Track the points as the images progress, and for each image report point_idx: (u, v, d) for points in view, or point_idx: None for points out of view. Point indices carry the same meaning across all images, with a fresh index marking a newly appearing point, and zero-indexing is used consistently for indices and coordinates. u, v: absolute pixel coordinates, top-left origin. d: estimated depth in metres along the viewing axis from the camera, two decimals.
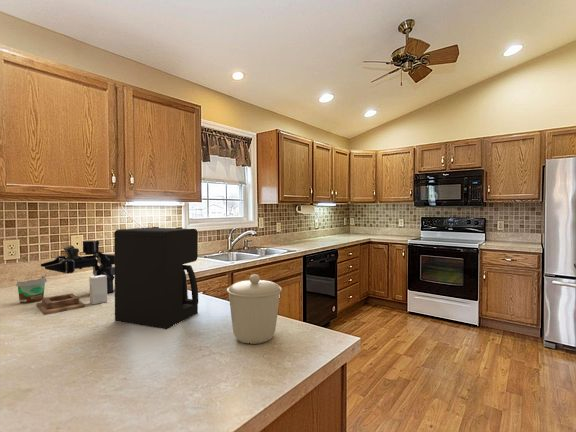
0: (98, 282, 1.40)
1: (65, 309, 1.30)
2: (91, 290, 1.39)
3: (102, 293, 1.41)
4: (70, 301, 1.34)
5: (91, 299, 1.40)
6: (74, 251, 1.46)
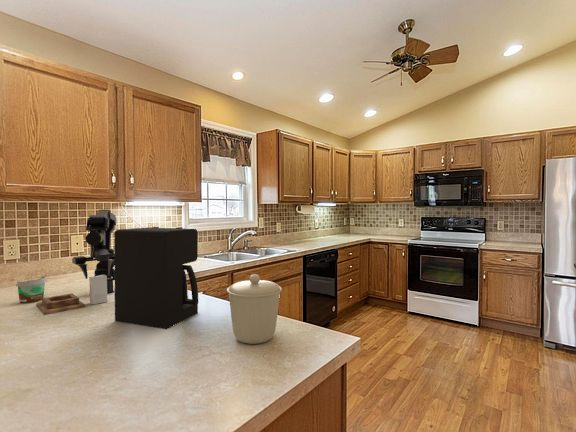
0: (98, 282, 1.40)
1: (65, 309, 1.30)
2: (91, 290, 1.39)
3: (102, 293, 1.41)
4: (70, 301, 1.34)
5: (91, 299, 1.40)
6: None
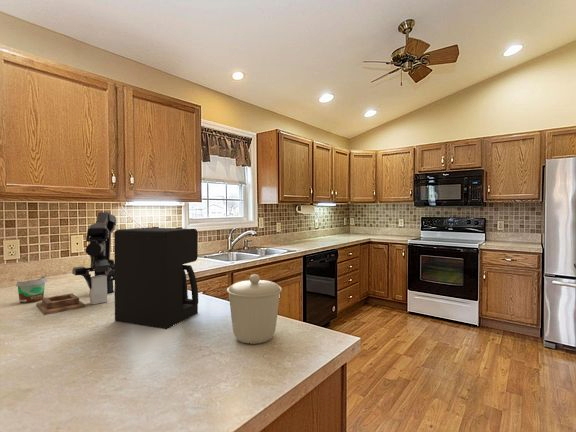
0: (98, 282, 1.40)
1: (65, 309, 1.30)
2: (91, 290, 1.39)
3: (102, 293, 1.41)
4: (70, 301, 1.34)
5: (91, 299, 1.40)
6: None
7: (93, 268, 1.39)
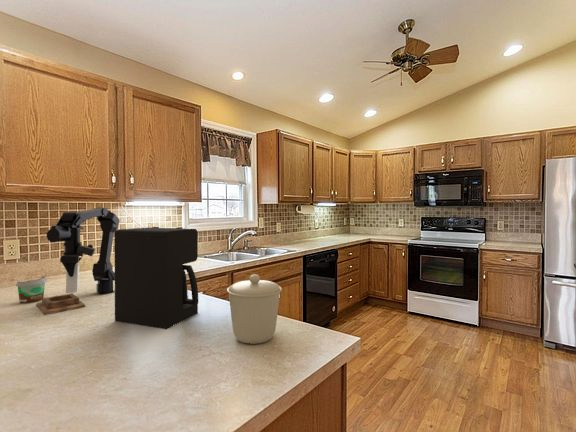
0: (78, 269, 1.38)
1: (65, 309, 1.30)
2: (73, 278, 1.35)
3: (78, 281, 1.40)
4: (70, 301, 1.34)
5: (70, 288, 1.35)
6: None
7: None
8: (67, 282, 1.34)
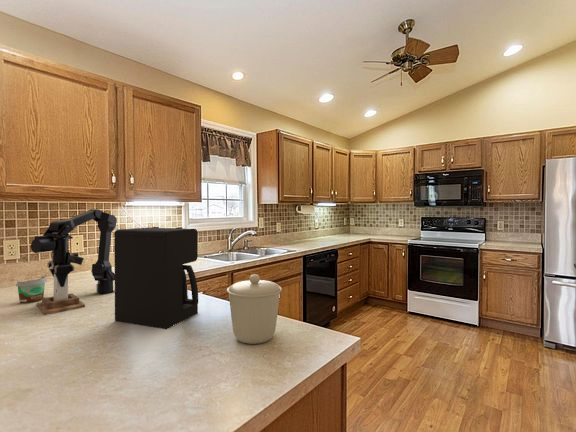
0: None
1: (65, 309, 1.30)
2: (63, 288, 1.35)
3: None
4: (70, 301, 1.34)
5: (60, 298, 1.34)
6: None
7: None
8: (58, 292, 1.33)
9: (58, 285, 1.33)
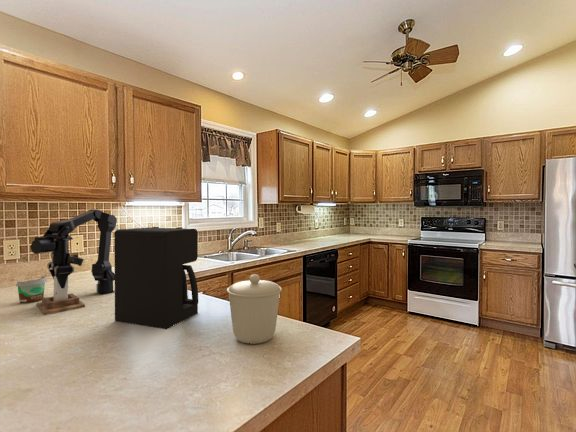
0: None
1: (65, 309, 1.30)
2: (63, 290, 1.35)
3: None
4: (70, 301, 1.34)
5: None
6: None
7: None
8: (57, 295, 1.33)
9: (58, 287, 1.33)
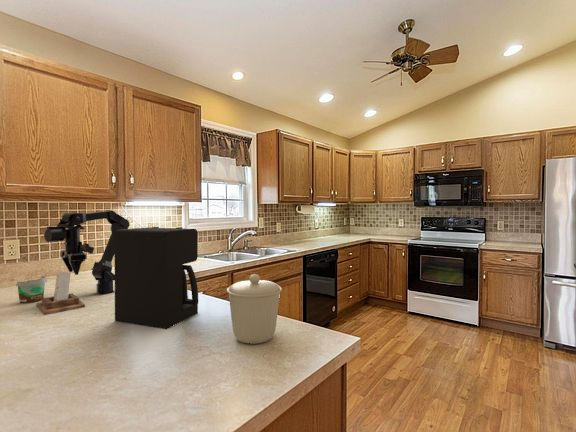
0: None
1: (65, 309, 1.30)
2: (64, 286, 1.37)
3: None
4: (70, 301, 1.34)
5: (61, 295, 1.35)
6: None
7: None
8: (59, 289, 1.35)
9: (60, 282, 1.36)
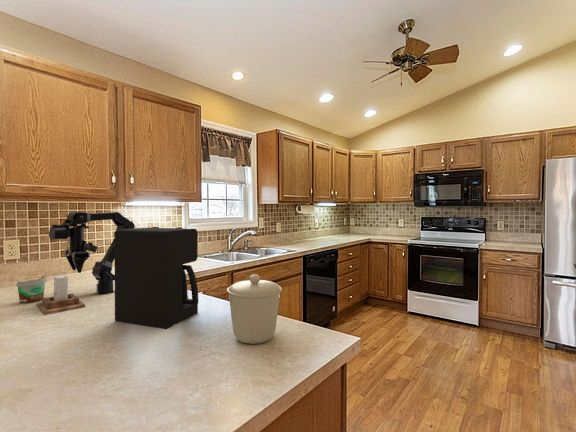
0: None
1: (65, 309, 1.30)
2: (63, 290, 1.35)
3: None
4: (70, 301, 1.34)
5: None
6: None
7: None
8: (57, 295, 1.33)
9: (58, 287, 1.33)
